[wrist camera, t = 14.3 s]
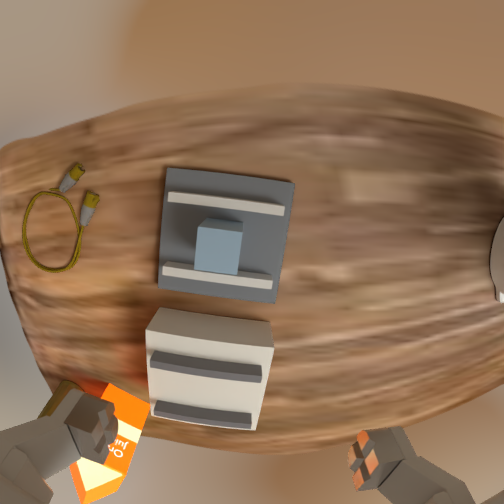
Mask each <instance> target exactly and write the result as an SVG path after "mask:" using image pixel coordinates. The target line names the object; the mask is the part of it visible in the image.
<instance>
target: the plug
mask: <svg viewBox="0 0 504 504" xmlns="http://www.w3.org/2000/svg"><path fill="white" fill-rule="evenodd" d="M242 234H243V222H236V221H229V220H221V219H213V218H206V219H205V220H204V221H203V222H202V223H201V224H200V225H199V226H198V232H197V242H196V252H195V263H194V269H195V270H202V271H209V272H217V273H225V274H232V275H237V271H238V264H239V256H240V249H241V241H242Z"/></svg>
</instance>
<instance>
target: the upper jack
mask: <svg viewBox="0 0 504 504" xmlns="http://www.w3.org/2000/svg"><path fill="white" fill-rule="evenodd" d="M273 352H274V342H273V336H272V330H271V324H270V322H265V321H256V320H247V319H239V318H231V317H223V316H216V315H208V314H201V313H195V312H188V311H181V310H175V309H169V308H163V307H159V309H158V311H157V312H156V314H155V315H154V317H153V319H152V320H151V322H150V323H149V325H148V327H147V328H146V355H147V372H148V385H149V396H150V407H151V416H156V417H161V418H165V419H171V420H176V421H181V422H187V423H194V424H200V425H207V426H215V427H223V428H233V429H244V430H256V426H257V422H258V418H259V413H260V409H261V405H262V401H263V397H264V392H265V388H266V383H267V379H268V375H269V370H270V366H271V361H272V356H273Z"/></svg>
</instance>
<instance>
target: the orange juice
mask: <svg viewBox="0 0 504 504" xmlns="http://www.w3.org/2000/svg"><path fill="white" fill-rule="evenodd" d="M101 399H104V400H107V401H110V402H113V403H114V406H115V412H114V415H115V416H116V417H117V419H118V427H119V429H118V434H117V437H116V440H115V442H114V443H112V444H110V445H108V447H109V450H110V453H109V455H108V457H107V459H106V461H105V463H104V465H102V464H99V463H96V462H93V461H90V460H88V459H85V458H82V457H81V459H80V460H78V461H76V462H75V463H73V464H71V465H70V470H71V474H72V477H73V481H74V484H75V487H76V490H77V493H78V496H79V499H80V502H81V504H88V503H91V502H93V501H95V500H98V499H100V498H102V497H104V496H107V495H109V494H111V493H113V492H116V491H117V489H118V488H119V486H120V484H121V483H122V481H123V479H124V478H125V476H126V474H127V470H128V467H129V465H130V461H131V458H132V456H133V453H134V450H135V447H136V444H137V443H138V440H139V437H140V434H141V431H142V428H143V425H144V422H145V420H146V417H147V414H148V412H149V409H150V404H148V403H146V402H144V401H142V400H140V399H138V398H136V397H134V396H132V395H130V394H128V393H126V392H124V391H122V390H121V389H119V388H117V387H115V386H113V385H111V384H110V383H109V385H108V386H107V388H106V390H105V392H104V393H103V395H102V397H101Z"/></svg>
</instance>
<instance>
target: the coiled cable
mask: <svg viewBox="0 0 504 504" xmlns="http://www.w3.org/2000/svg"><path fill="white" fill-rule="evenodd" d="M81 167H82V165H81V164H79V163H77V164H76V165H75V167H74V168H73V169H72V170H70V171H69V172H68V173H67V174H66V175H65V177H64V179H63V181H62V182H61V184H60V186H59V189H57V188H51V189H49V190H51V191H61V192H63V193H64V192H65V191H67V190H68V189H69V188H71V187H72V186H73V185H75V184H76V182H77V181H78V180H79V178H80V176H81V175H82V174H83V173H84V172H85V170H84V171H81V170H80V168H81ZM43 194H46V195H51V196H56V197H59V198H62V199H64V200H65V201H66V202H67V203H68V205H69V207H70V209H71V211H72V214H73V217H74V219H75V222H76V226H77V231H78V242H77V246H76V250H75V253H74V256H73V259H72V261H71V262H70V264H69V265H68V266H67V267H66V268H60V269H53V268H47V267H45V266H42V265H41V264H39V263H38V262H37V261H36V260H35V258H34V257H33V255H32V254H31V251H30V249H29V245H28V242H27V237H26V222H27V218H28V215H29V212H30V210H31V208H32V206H33V204H34V202H35V200H36V199H37V198H38V197H39V196H40V195H43ZM99 201H100V199H99V195H97V194H94V193H93V192H91V191H87V194H86V196H85V199H84V202H83V205H82V208H81V216H80V224H81V225H82V227H81V231H80V229H79V225H78V221H77V218H76V215H75V212H74V210H73V207H72V205H71V203H70V202H69V201H68V199H66V198H65V197H63V196H61V195H58V194H54V193H49V192H40V193H38V194H37V195H36V196H35V197H34V198H33V199H32V201H31V202H30V204H29V206H28V208H27V211H26V214H25V217H24V222H23V230H22V238H23V245H24V248H25V251H26V253H27V255H28V257H29V258H30V260H31V261H32V262H33V263H34V264H35V265H36V266H37V267H38V268H40V269H42V270H44V271H47V272H52V273H56V272H63V271H65V270H68V269H71V268H72V267H73V266H74V265H75V264H76V262H77V261H78V258H79V255H80V250H81V236H82V232H83V229H84V226H88V223H89V221H90V219H91V218H92V215H93V213H94V211H95V208H96V205H97V203H98V202H99ZM25 242H26V244H25ZM26 246H27V248H26ZM27 249H28V250H27ZM77 251H78V254H77ZM28 252H29V253H28ZM29 254H30V255H29ZM76 255H77V257H76ZM75 257H76V260H75ZM74 260H75V261H74ZM73 262H74V263H73Z"/></svg>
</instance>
